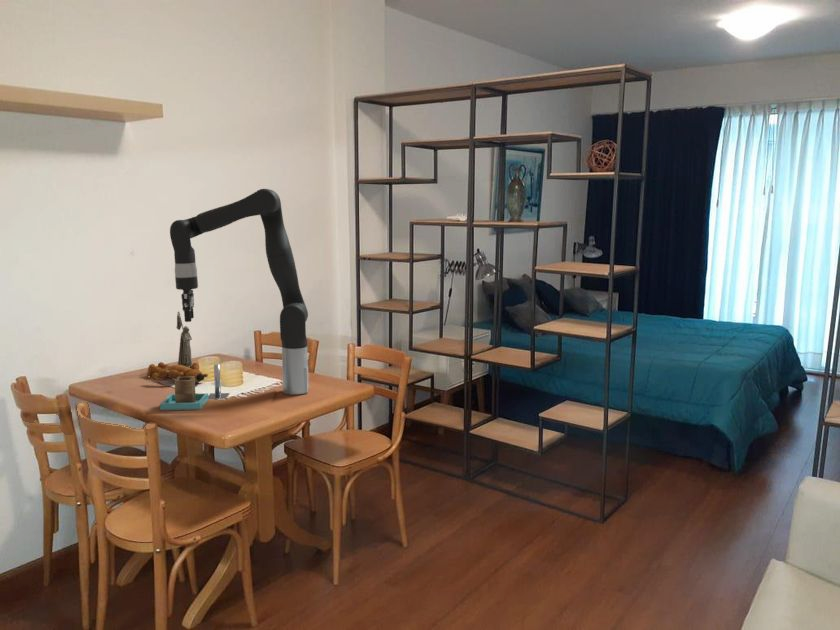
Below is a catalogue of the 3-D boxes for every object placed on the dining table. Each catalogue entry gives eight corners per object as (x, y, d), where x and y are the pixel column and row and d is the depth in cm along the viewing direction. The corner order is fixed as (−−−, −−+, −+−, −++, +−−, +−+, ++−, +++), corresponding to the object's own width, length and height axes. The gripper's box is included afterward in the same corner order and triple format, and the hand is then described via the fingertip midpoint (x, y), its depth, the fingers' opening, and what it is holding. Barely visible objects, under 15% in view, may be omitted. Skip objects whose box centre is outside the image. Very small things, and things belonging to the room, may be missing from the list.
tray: (208, 400, 231) (208, 393, 231) (200, 410, 219) (200, 403, 219) (170, 401, 230) (170, 394, 229) (160, 411, 218) (160, 403, 218)
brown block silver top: (229, 394, 239) (228, 362, 237) (226, 399, 232) (224, 367, 230) (210, 394, 238) (209, 362, 236) (205, 400, 231) (204, 367, 230)
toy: (133, 383, 258) (180, 392, 241) (132, 365, 257) (178, 374, 240) (177, 373, 274) (223, 381, 257) (176, 357, 273) (222, 364, 256)
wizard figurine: (184, 373, 269) (181, 313, 265) (167, 371, 272) (164, 311, 268) (200, 367, 279) (198, 310, 275) (184, 365, 282) (181, 308, 278)
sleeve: (195, 401, 228) (194, 376, 226) (192, 406, 222) (191, 380, 221) (178, 402, 227) (177, 376, 225) (175, 406, 221) (174, 381, 220)
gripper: (195, 276, 230) (198, 322, 232) (198, 273, 243) (201, 316, 246) (172, 277, 228) (176, 323, 230) (177, 274, 242) (180, 317, 244)
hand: (189, 320), depth 238 cm, fingers open, 8 cm apart
